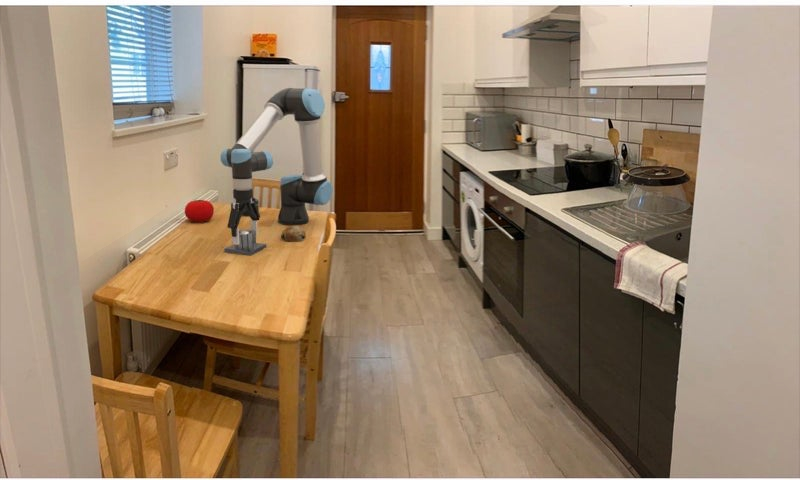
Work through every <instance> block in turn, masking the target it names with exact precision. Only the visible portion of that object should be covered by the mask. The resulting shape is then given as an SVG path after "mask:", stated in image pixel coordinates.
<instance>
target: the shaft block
mask: <svg viewBox="0 0 800 480" xmlns="http://www.w3.org/2000/svg"><path fill="white" fill-rule="evenodd" d="M243 230H244V231H242V232H241V234H248V233H249V232H248V231H246V230H245V229H243ZM265 248H267V243H261V242H256V247H255V248H251V249H237V248H235V244H231V245H229V246H226V247H225V248H223V250H224V253H230V254H235V255H236V254H237V255H246V256H253V255H255V254H257V253H259V252H261V251H263V250H265Z"/></svg>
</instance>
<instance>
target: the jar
mask: <svg viewBox="0 0 800 480" xmlns="http://www.w3.org/2000/svg"><path fill="white" fill-rule="evenodd" d="M255 203H256V206H257V209H258V211H259V209H260V207H259V206H260V204H259V203H260V202H259V199H257V198H255ZM256 215H257V214H256ZM242 216H243V217H250V216H249V215H248V213H247V212H244V214H242ZM242 216H241V217H242Z"/></svg>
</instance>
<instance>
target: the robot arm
mask: <svg viewBox="0 0 800 480" xmlns="http://www.w3.org/2000/svg"><path fill="white" fill-rule="evenodd" d="M325 104H326V103H325V98H324V97H323V95H322V94H321V93H320V91H318V90H317V89H314V88H313V89H312V88H309V87H308V88H307V87H305V88H304V87H303V88H301V87H300V88H297V87H295V88H293V87H288V88H284V89H281V90H280V91H278V92H276V93H275V94H274V95H273V96H271V97H270V98H269V99H268V100H267V102H265V104H264V106H263V110H262V111H261V112H260V114H259V115H258V116H257V117H256V118H255V120H254V121H253V122H252V124H250V126H249V127H248V128H247V129H246V131H245V132H244V133H243V134H242V135H241V137H239V139H238V140H237V141H236V143H235V144H234V145H233V146H232V148H225V149H223V150H222V151H221V153H220V157H219V158H220V162H221V164H222V165H223V166H224V167H228V168H231V175H232V188H233V189H232V194H233V198H234V200H235V202H232V203H230V213H229V217H228V222H227V226H226V227H227V229H231V230H230V231H231V241H232V244H231V245H233V244H236V245H239V230H240V229H239V228H238V226H239V224H240V221H241V218H242V214H244V212H247V213H248V215H249V216H248V217H250V220H249V221H250V222H249V224H250V229H249V230H254V231H256V237H258V221H260V217H261V215H260V212H259V211H258V209H257V206H256V203H255V199H256V198H255V197H254V191H253V173H254V172H261V171H267V170H269V169H271V168H272V167H273V165H274V158H273V155H272V154H271V152H269V151H263V150H262V151H255V150H256V148H257V147H258V146H259V145H260V144H261V142H262V141H263V140H264V138H266V136H267V135H268V134H269V132H270V131H271V130H272V129H273V127H274V126H275V125H276V123H277V122H278V121H281V120H283V119H284V117H286V116H288V115H292V116H293V118H294V121H295V122H296V123H297V124H298V130H299V137H300V148H301V155H302V163H303V173H304V174H292V175H285V176H282V177H281V178H280V185H279V187H280V189H279V190H280V210H279V213H278V216H277V222H278V224H281V225H286V226H287V225H288V226H301V225H305V224H308V223H309V222H310V217H309V214H308V211H307V208H306V204H307V205H308V204H311V205H315V206H325V205H327V204H328V203H329V202H330V201H331V199H332V195H333V192H334V187H333V184H332V182H330V181H328V178H327V175H326V173H324V172H323V171H324V170H323V163H322V160H323V159H322V152H321V142H320V134H319V133H320V132H319V121H320V120H321V116H322V115H324V112H325V107H326V105H325ZM256 214H257V215H256Z"/></svg>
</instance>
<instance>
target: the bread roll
mask: <svg viewBox="0 0 800 480" xmlns="http://www.w3.org/2000/svg"><path fill="white" fill-rule="evenodd" d="M306 236H307V235H306V231H305V229H303V228H302V227H301V225H288V226H287V227H285V229H283V230H282V232H281V234H280V237H281V239H282V240H283V241H285V242H289V243H291V242H293V243H296V242H303V241H304V240H305V238H306Z"/></svg>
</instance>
